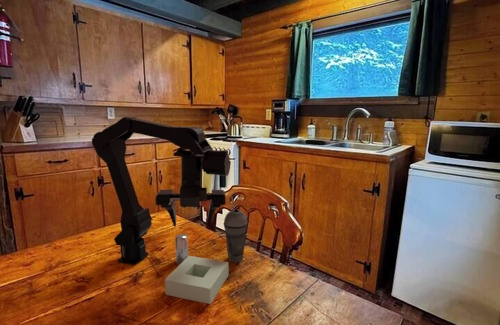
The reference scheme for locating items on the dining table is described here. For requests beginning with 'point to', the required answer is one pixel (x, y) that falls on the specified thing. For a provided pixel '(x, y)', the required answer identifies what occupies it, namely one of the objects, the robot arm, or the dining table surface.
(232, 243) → the beverage cup
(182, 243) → the peg
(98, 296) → the dining table surface
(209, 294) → the socket block
